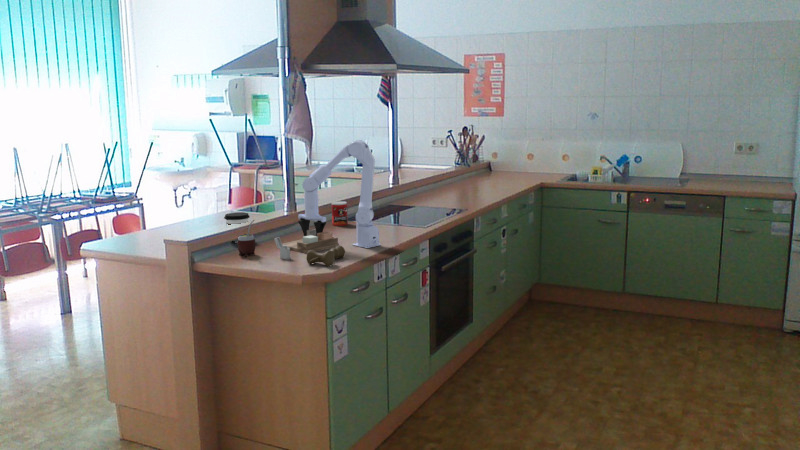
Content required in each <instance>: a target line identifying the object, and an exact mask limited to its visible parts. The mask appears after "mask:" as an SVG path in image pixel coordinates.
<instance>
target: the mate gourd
mask: <svg viewBox="0 0 800 450" xmlns="http://www.w3.org/2000/svg"><path fill="white" fill-rule="evenodd" d="M254 221H255V219H253V220H252V221H250V223H248V224H249V225H248V228H247V234H244V235H240V236H239V237H238V241H237V242H236V244H237V250H238V254H239V256H244V257H245V258H247V257H248V256H255V255H256V253H255V250H256V238H255V236H254V235H253V234H250V230H251V227H252V224H253V223H254Z"/></svg>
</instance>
